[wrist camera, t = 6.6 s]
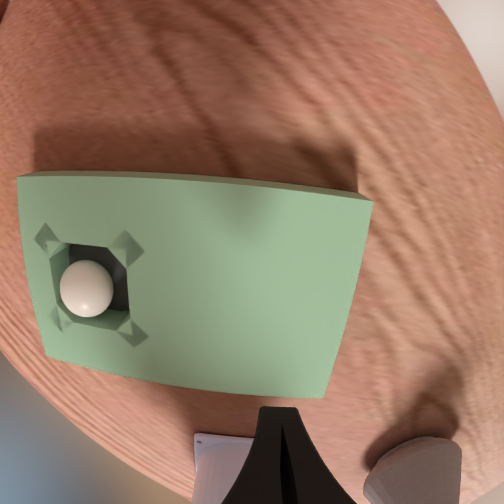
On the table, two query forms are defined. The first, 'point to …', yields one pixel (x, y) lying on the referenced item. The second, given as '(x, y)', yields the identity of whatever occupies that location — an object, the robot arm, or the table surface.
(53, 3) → the table surface
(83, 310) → the ball
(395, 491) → the coffee pot
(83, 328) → the plate
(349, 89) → the table surface
